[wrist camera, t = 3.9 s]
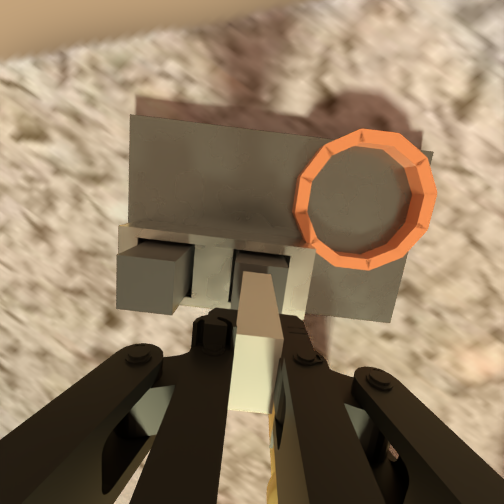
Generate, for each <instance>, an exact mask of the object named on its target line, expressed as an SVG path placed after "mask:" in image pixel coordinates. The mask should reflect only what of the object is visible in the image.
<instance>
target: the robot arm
mask: <svg viewBox="0 0 504 504" xmlns="http://www.w3.org/2000/svg"><path fill="white" fill-rule="evenodd" d="M273 404H274V409H275V415H274V422H273V428H272V434H271V440H270V446H269V448H273V445H274V455H275V468H276V482H277V496H278V504H504V479H503V478H502V477H501V476H500V475H499V474H498V473H497V472H496V471H494V470H493V469H492V468H491V467H490V466H489V465H488V464H487V463H486V462H485V461H484V460H483V459H482V458H481V457H480V456H479V455H477V454H476V453H475V452H474V451H473V450H472V449H471V448H470V447H469V446H468V445H467V444H466V443H465V442H464V441H463V440H461V439H460V438H459V437H458V436H457V435H456V434H455V433H454V432H453V431H452V430H451V429H450V428H449V427H448V426H447V425H445V424H444V423H443V422H442V421H441V420H440V419H439V418H438V417H437V416H436V415H435V414H434V413H433V412H432V411H431V410H430V409H428V408H427V407H426V406H425V405H424V404H423V403H422V402H421V401H420V400H419V399H418V398H417V397H416V396H415V395H414V394H412V393H411V392H410V391H409V390H408V389H407V388H406V387H405V386H404V385H403V384H402V383H401V382H400V381H399V380H397V379H396V378H395V377H393V376H392V375H391V374H389V373H387V372H385V371H383V370H381V369H377V368H374V367H360V368H358V369H357V370H356V371H355V373H354V377H350V376H347V375H343V374H340V373H338V372H335V371H332V370H331V369H329V366H328V364H327V361H326V360H325V359H324V357H323V356H322V355H320V354H319V353H318V352H316V351H314V350H313V347H312V344H311V341H310V339H309V336H308V333H307V331H306V328H305V325H304V323H303V321H302V320H301V319H300V318H299V317H297V316H295V315H287V314H279V313H278V307H277V302H276V297H275V292H274V287H273V282H272V277H271V274H263V273H254V272H246V271H243V278H242V286H241V293H240V300H239V308H238V310H235V309H226V308H217V307H215V308H214V309H213V310H211V311H210V312H209V313H208V315H205V316H201V317H199V318H197V319H196V320H195V321H194V322H193V332H192V345H191V349H190V351H189V352H188V353H185V354H182V355H178V356H171V357H163V351H162V350H161V349H160V348H159V347H157V346H155V345H153V344H146V343H141V344H140V343H139V344H133V345H130V346H126V347H124V348H123V349H121V350H119V351H117V352H116V353H115V354H114V355H112V356H111V357H110V358H108V359H107V360H106V361H104V362H103V363H102V364H100V365H99V366H98V367H96V368H95V369H94V370H92V371H91V372H90V373H88V374H87V375H86V376H84V377H83V378H82V379H80V380H79V381H78V382H76V383H75V384H74V385H72V386H71V387H70V388H68V389H67V390H66V391H64V392H63V393H62V394H60V395H59V396H58V397H56V398H55V399H54V400H52V401H51V402H50V403H48V404H47V405H46V406H45V407H43V408H42V409H41V410H39V411H38V412H37V413H35V414H34V415H33V416H31V417H30V418H29V419H27V420H26V421H25V422H23V423H22V424H21V425H19V426H18V427H17V428H15V429H14V430H13V431H11V432H10V433H9V434H7V435H6V436H5V437H3V438H2V439H1V440H0V504H114V502H115V501H116V499H117V498H118V496H119V495H120V493H121V492H122V490H123V489H124V487H125V486H126V484H127V483H128V481H129V480H130V479H131V477H132V476H133V474H134V473H135V471H136V470H137V468H138V467H139V465H140V464H141V462H142V461H143V459H144V458H145V456H146V455H147V454H148V452H149V451H150V452H149V455H148V458H147V460H146V463H145V465H144V468H143V470H142V473H141V475H140V478H139V480H138V483H137V485H136V488H135V490H134V493H133V495H132V498H131V500H130V503H129V504H216V503H217V495H218V487H219V478H220V470H221V461H222V453H223V444H224V436H225V427H226V419H227V410H238V411H247V412H256V413H266V414H272V410H273ZM390 444H391V445H392V446H393V448H394V449H395V450H396V451H397V453H398V454H399V457H398V459H396V458H395V457H394V456H393V455H392V454H391V452H390V451H389V446H390ZM150 449H151V450H150Z"/></svg>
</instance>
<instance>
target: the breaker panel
mask: <svg viewBox="0 0 504 504" xmlns="http://www.w3.org/2000/svg"><path fill="white" fill-rule="evenodd" d="M332 141H334V139H326V138H318V137H310V136H301V135H293V134H285V133H277V132H269V131H261V130H253V129H245V128H237V127H229V126H221V125H212V124H204V123H196V122H188V121H180V120H172V119H164V118H156V117H148V116H140V115H131V114H130V144H129V206H128V223H126V224H123V225H119V226H118V254H119V253H121V252H124V251H126V250H128V249H130V248H132V247H134V246H136V245H139V244H141V243H143V242H145V241H147V240H149V239H154V240H162V241H171V242H179V243H188V244H195V248H194V261H193V275H192V287H191V288H190V290H189V291H188V293H187V294H186V296H185V297H184V298H183V300H182V301H181V303H180V304H179V305H182V306H190V307H199V308H207V309H214V308H215V307H217V308H226V309H230V308H231V298H232V289H233V280H234V271H235V262H236V258H237V255H238V252H239V250H247V251H255V252H264V253H272V254H280V255H284V258H285V260H286V263H287V265H288V268H289V270H288V277H287V283H286V289H285V296H284V302H283V309H282V314H287V315H295V316H297V317H299V318H300V319H301V320H304V316H305V313H308V314H316V315H325V316H333V317H342V318H350V319H359V320H367V321H376V322H384V323H390V322H391V318H392V314H393V310H394V306H395V302H396V298H397V294H398V290H399V286H400V282H401V278H402V274H403V270H404V266H405V263H406V259H407V255H408V252H407V253H406V254H405V255H404V256H403V257H402V258H400V259H397V260H395V261H392V262H390V263H387V264H384V265H382V266H379V267H377V268H374V269H372V270H369V271H368V270H360V269H351V268H343V267H335V266H333V265H332V264H331V263H329V262H328V261H327V260H325V259H324V258H323V257H321V256H320V255H319V254H317V253H316V249H315V248H314V247H313V246H312V245H311V244H310V243H306V242H305V241H304V240H303V238H302V236H301V233H300V231H299V228H298V226H297V223H296V220H295V218H294V215H293V213H292V209H293V202H294V196H295V189H296V182H297V178H298V176H299V174H300V173H301V172H302V171H303V169H304V168H305V167H306V165H307V164H308V163H309V161H310V160H311V159H312V157H313V156H314V155H315V153H316V152H317V151H318V149H319V148H321V147H322V146H324V145H325V144H327V143H330V142H332ZM420 151H421V152H422V153H423V154H424V155H425V156H426V157H427V158H428V161H429V164H431V160H432V156H433V152H431V151H423V150H420ZM411 197H412V193H411V189H410V186H409V183H408V179H407V176H406V172H405V169H404V167H403V166H402V165H400V164H399V163H398V162H397V161H396V160H395V159H393V158H392V157H391V156H390V155H389V154H387V153H386V152H385V151H384V150H383V149H375V148H367V147H359V146H353V147H350V148H348V149H346V150H343V151H341V152H339V153H337V154H334V155H332V156H331V157H330V159H329V160H328V161H327V163H326V164H325V165H324V167H323V168H322V169H321V170H320V172H319V173H318V174H317V176H316V177H315V178H314V179H313V181H312V185H311V191H310V197H309V203H308V209H307V213H308V215H309V218H310V221H311V223H312V226H313V229H314V231H315V234H316V236H317V239H319V240H320V241H321V242H323V243H324V244H325V245H326V246H328V247H329V248H330V249H332V250H333V251H337V252H345V253H353V254H362V253H365V252H367V251H370V250H372V249H375V248H378V247H380V246H383V245H385V244H387V243H388V241H389V240H390V239H391V238H392V237H393V236H394V235H395V234H396V232H397V231H398V230H399V229H400V228H401V227H402V226H403V224H404V223H405V221H406V217H407V213H408V209H409V205H410V201H411Z"/></svg>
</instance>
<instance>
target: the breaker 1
mask: <svg viewBox="0 0 504 504" xmlns="http://www.w3.org/2000/svg"><path fill="white" fill-rule="evenodd" d="M194 248H195V244H188V243H179V242H171V241H162V240H154V239H149V240H147V241H145V242H143V243H141V244H139V245H136V246H134V247H132V248H130V249H128V250H126V251H124V252H121V253H119V254H117V281H116V309H122V310H130V311H139V312H148V313H156V314H165V315H173V313H174V312H175V310H176V309H177V307H178V306H179V304H180V303H181V301H182V300H183V298H184V297H185V296H186V294H187V293H188V291H189V290H190V288H191V287H192V275H193V261H194Z"/></svg>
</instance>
